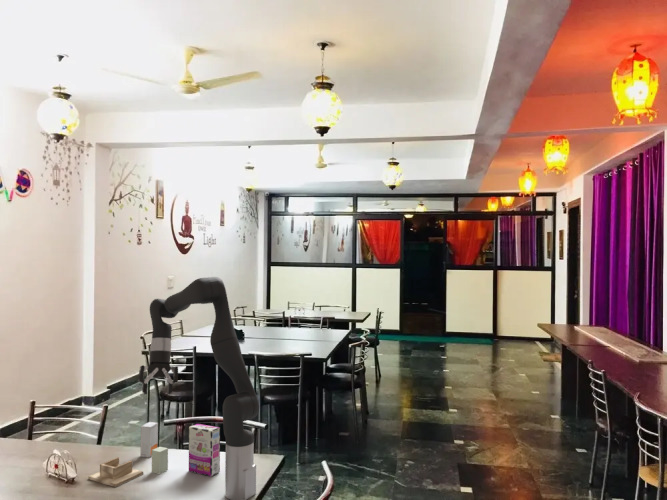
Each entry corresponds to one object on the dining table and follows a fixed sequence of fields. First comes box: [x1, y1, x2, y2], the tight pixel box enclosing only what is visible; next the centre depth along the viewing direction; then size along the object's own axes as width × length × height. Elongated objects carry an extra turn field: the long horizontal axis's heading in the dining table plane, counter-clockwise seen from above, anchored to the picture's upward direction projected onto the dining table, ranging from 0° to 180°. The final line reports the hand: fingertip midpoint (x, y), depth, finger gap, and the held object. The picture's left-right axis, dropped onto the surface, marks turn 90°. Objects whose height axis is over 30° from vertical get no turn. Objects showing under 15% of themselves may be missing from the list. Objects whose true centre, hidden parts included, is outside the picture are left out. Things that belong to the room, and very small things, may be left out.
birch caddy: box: [87, 456, 144, 488], centre depth 187 cm, size 14×12×5 cm
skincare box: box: [139, 421, 159, 458], centre depth 209 cm, size 6×4×12 cm
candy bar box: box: [188, 423, 221, 477], centre depth 192 cm, size 11×5×16 cm, turn 62°
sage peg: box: [151, 446, 169, 475], centre depth 193 cm, size 4×4×8 cm
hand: (157, 394), depth 196 cm, fingers open, 8 cm apart
